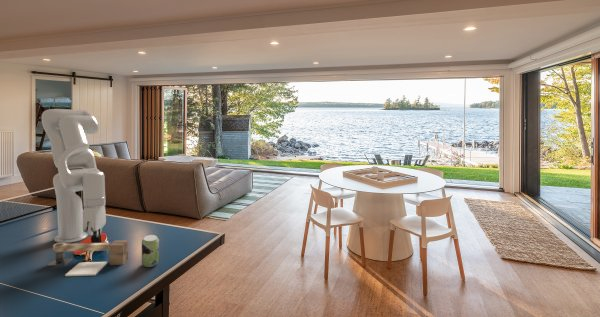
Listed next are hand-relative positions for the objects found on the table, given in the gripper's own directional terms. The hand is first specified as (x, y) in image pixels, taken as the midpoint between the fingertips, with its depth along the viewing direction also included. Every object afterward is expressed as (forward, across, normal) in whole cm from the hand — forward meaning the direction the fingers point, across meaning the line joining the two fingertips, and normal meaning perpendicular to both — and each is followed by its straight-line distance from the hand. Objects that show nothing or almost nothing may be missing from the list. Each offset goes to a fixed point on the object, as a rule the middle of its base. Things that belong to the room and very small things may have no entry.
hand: (96, 245), depth 134 cm
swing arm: (+4, +5, -3) cm, 7 cm away
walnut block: (+5, +6, +11) cm, 13 cm away
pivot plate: (+5, +5, -11) cm, 13 cm away
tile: (+5, +12, +2) cm, 13 cm away
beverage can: (+5, +10, +24) cm, 27 cm away
